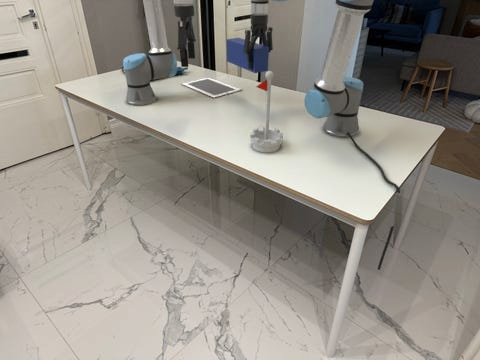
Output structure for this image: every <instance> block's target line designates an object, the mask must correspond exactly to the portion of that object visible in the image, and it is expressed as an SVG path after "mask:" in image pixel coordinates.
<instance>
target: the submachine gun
mask: <svg viewBox="0 0 480 360" xmlns="http://www.w3.org/2000/svg"><path fill="white" fill-rule="evenodd" d="M187 70H189V67H181V66H177V71H176V74H175V75H177V74H183V73H184V72H185V71H187ZM152 81H155V79H153V80H152Z"/></svg>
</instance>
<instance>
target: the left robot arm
mask: <svg viewBox="0 0 480 360" xmlns="http://www.w3.org/2000/svg"><path fill="white" fill-rule="evenodd" d="M194 3H195V1H194V0H173V4H174V6H173V9H174V10H173V12H174V16H175V17H176V18H179V20H178V21H177V48H176V50H177V51H179V56H180V57H179V58H180V67H182V68H186V67H188V68H189V59H190V60H191V59H193V60H194V59H196V53H195V52H196V50H195V42H197V39H196V36H195V31H194V25H193V18H192V17H194V16H195V6H194ZM142 4H143V10H144V15H145V21H146V27H147V33H148V39H149V44H150V50H148V55H147V54H146V53H142V52H141V53H134V54H130V55H127V56H126V57H124V58H123V60H122V64H123V65H122V67H121V72H122V73H123V74H124V75H125V82H126V85H127V89H126V95H125V97H126V98H125V100H126V104H128V105H131V106H146V105H150V104H153V103H154V102H156V101H157V97H156V95H155V92H154V89H153V88H152V86H151V81H154V80H159V79H165V78H166V79H168V78H172V77H174V76H176V75H177V74H176V71H177V67H178V60H177V56H176V54H175V53H173V52H172V49H171V48H170V47H169V45H168V38H167V31H166V26H165V25H166V24H165V18H164V11H163V5H162V0H142ZM153 79H154V80H153Z"/></svg>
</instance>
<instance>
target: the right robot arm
mask: <svg viewBox="0 0 480 360" xmlns="http://www.w3.org/2000/svg"><path fill="white" fill-rule="evenodd" d="M269 1H270V0H250V13H251V14H250V28H248V29H244V39H245V43H244V51H243V52H244V53H246V54H247V61H248V68H249V69H251V70H253V55H252V52H253V48H254V46H255V43H257V40H258V38H259V39H261V43H262V45H263V46H267V47H269V54H270V53H271V51H273V50H274V47H273V27H271V26H268V23H269V15H268V13H269V4H270V3H269ZM274 1H276V2H286V1H288V0H273V2H274ZM374 1H375V0H335V2H334V3H335V4H334V5H335V6H336V8H337V13H336V16H335V20H334V25H333V28H332V31H331V32H332V33H331V34H330V38H329V42H328V46H327V50H326V54H325V57H324V61H323V65H322V68H321V72H320V76H318V77H317V78H315V80H314V83H313V85H312V86H313V87H312V88H311V89H309V90H308V91H307V92H306V93H305V94H304V97H303V98H304V99H303V101H304V102H303V103H304V107H305V109H306V111H307V112H308V114H309V115H310V116H311V117H312V118H315V119H319V120H321V119H323V118H325V119H326V120H325V121H324V123H323V126H322V130H323V132H324V133H325V134H326V135H329V136H332V137H335V138H339V139H341V138H342V139H350V140H351V142H352V144H353V145H354V146H355V148H356V149H357V150H358V151H359V152H360V153H362V154H363V155H364V156H365V157H366V158H368V160H370V162H372V163H373V164H374V165H375V166H376V167H377V168H378V170H379V171H380V174H381V176H382V177H383V179H384V181H385V182H386V183H387V184H389V185H391V186H393V187H394V188H395V190H396V192H397V193H398V194H400V193H401V189H400V187H399V186H398V184H396V183H395V182H393V181H391V180H390V179H388V178H387V176H386V174H385V171H384V170H383V168H382V166H381V165H380V164H379V163H378V162H377V161H376V160H375V159H374V158H373V157H372V156H370V155H369V154H368V153H367V152H366V151H365V150H363V149H362V148H361V147H360V146H359V145H358V144H357V142H356V141H355V138H354V137H356V136H357V135H359V132H360V125H359V118H358V117H359V116H358V114H359V111H360V110H359V109H360V105H361V100H362V95H363V92H364V82H363V81H362V79H359V78H355V77H352V76H345V75H346V73H347V69H348V67H349V64H350V60H351V56H352V54H353V52H354V51H353V50H354V47H355V44H356V41H357V38H358V34H359V31H360V29H361V25H362V22H363V18H364V16H365V14H367V13H368V12H370V11H371V9H372V6H373V3H374ZM269 58H270V55H269V56H268V59H269ZM394 228H395V225H393V226H390V229H389V233H388V236H387V239H386V241H385V244H384V247H383V251H382V253H381V257H380V260H379V261H378V262H379V263H378V266H377V270H378V271H380V270H381V267H382V264H383V263H384V262H383V261H384V258H385V255H386V252H387V250H388V248H389V245H390V241H391V238H392V235H393V232H394Z"/></svg>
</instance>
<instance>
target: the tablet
mask: <svg viewBox="0 0 480 360" xmlns="http://www.w3.org/2000/svg"><path fill="white" fill-rule="evenodd" d="M181 85H182V86H185V87H187V88H189V89H192V90H194V91H195V92H198V93H201V94H203V95H205V96H207V97H211V98H212V99H216V98H219V97H222V96H226V95H230V94H234V93H236V92H237V93H238V92H240V91H242V89H241V88H239V87H235V86H233V85H231V84H228V83H225V82H222V81H219V80H217V79H214V78H212V77H204V78H200V79H197V80H192V81H188V82H184V83H181Z"/></svg>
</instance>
